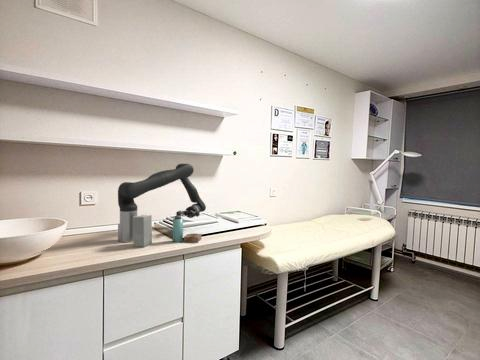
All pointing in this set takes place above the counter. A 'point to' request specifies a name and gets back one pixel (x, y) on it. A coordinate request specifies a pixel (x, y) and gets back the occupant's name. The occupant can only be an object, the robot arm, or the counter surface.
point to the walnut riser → (192, 238)
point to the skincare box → (142, 230)
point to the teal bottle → (177, 229)
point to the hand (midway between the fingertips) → (184, 215)
